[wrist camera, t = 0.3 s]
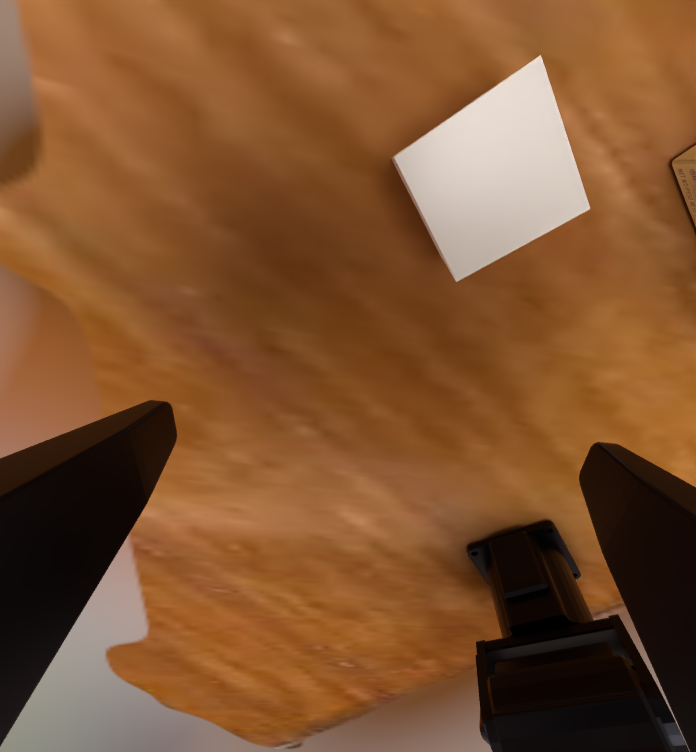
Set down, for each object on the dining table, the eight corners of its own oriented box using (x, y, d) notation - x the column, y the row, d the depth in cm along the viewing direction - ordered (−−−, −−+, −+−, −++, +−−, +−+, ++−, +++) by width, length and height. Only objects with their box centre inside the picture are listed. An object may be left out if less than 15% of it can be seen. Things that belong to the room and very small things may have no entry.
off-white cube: (539, 197, 18) (590, 208, 14) (439, 254, 19) (456, 282, 15) (497, 83, 16) (540, 55, 12) (390, 157, 18) (393, 156, 13)
